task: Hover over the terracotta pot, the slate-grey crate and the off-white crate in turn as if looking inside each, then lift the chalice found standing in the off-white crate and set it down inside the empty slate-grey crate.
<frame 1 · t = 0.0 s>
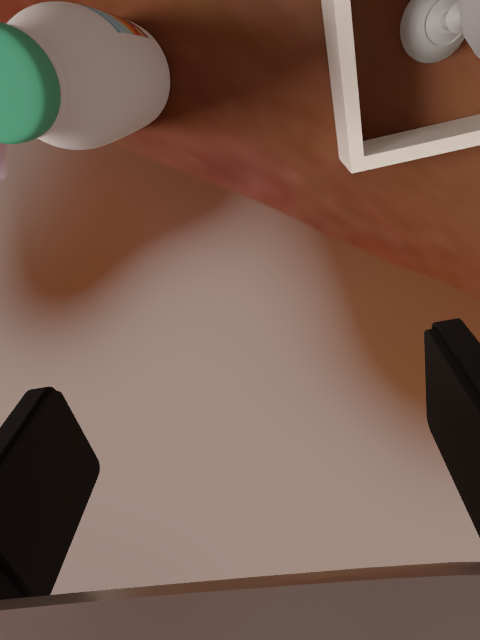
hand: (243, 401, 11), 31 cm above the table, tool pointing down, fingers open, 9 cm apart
white crate: (435, 24, 33), on the table
milk bottle: (125, 77, 35), on the table
chalice: (434, 24, 33), resting in white crate
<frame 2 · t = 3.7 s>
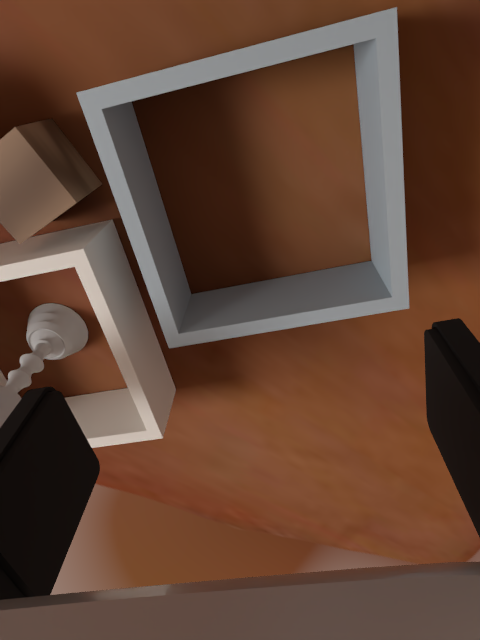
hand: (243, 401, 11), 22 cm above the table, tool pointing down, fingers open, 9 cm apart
white crate: (58, 329, 37), on the table
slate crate: (260, 187, 30), on the table
walnut block: (52, 172, 31), on the table
chalice: (59, 328, 37), resting in white crate
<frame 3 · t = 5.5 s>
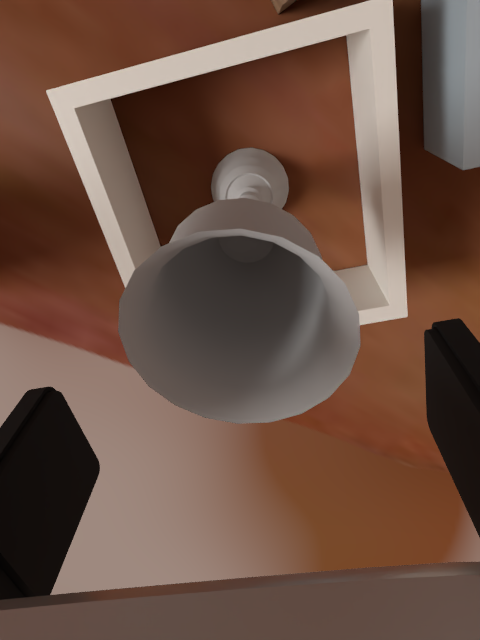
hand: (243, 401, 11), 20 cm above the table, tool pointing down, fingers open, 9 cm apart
white crate: (249, 188, 29), on the table
chalice: (249, 187, 29), resting in white crate
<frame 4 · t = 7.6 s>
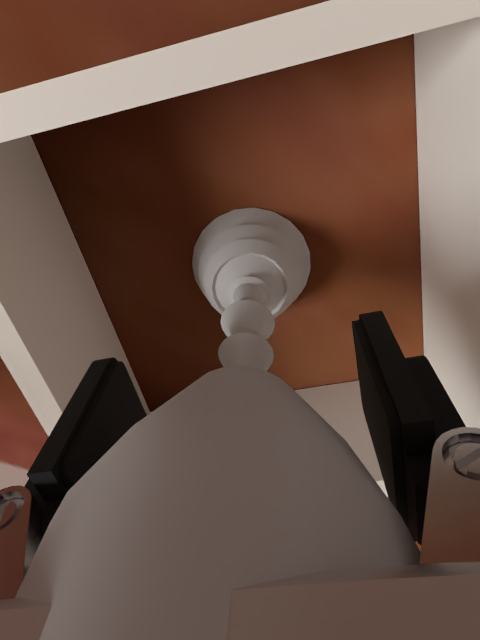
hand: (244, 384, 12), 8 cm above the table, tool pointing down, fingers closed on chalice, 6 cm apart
white crate: (251, 266, 19), on the table
chalice: (251, 264, 19), resting in white crate, touching gripper
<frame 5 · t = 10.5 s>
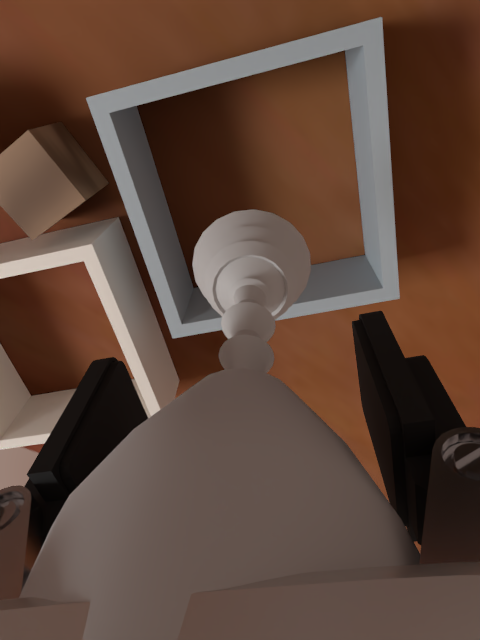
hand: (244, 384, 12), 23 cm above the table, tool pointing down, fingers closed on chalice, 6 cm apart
white crate: (66, 323, 39), on the table
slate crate: (258, 185, 32), on the table
walnut block: (61, 172, 32), on the table
chalice: (251, 265, 19), point 15 cm above the table, touching gripper
when the fingers open (9 cm above the table, at t = 13.9 s): chalice drops 1 cm, resting in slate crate.
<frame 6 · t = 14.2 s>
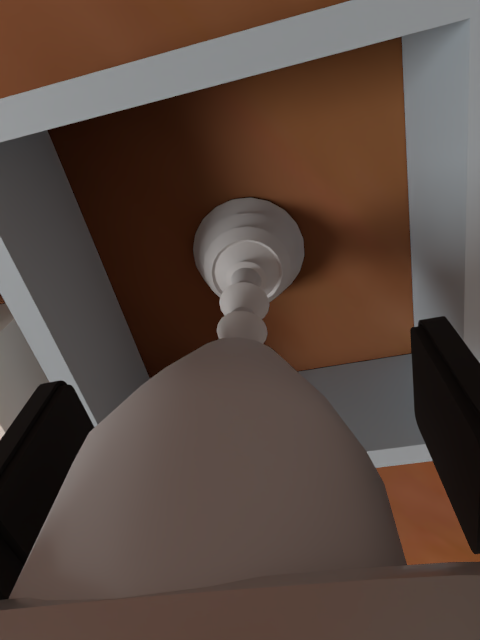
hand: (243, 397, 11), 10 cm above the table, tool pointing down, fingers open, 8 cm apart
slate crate: (251, 253, 20), on the table
chalice: (248, 251, 20), resting in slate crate
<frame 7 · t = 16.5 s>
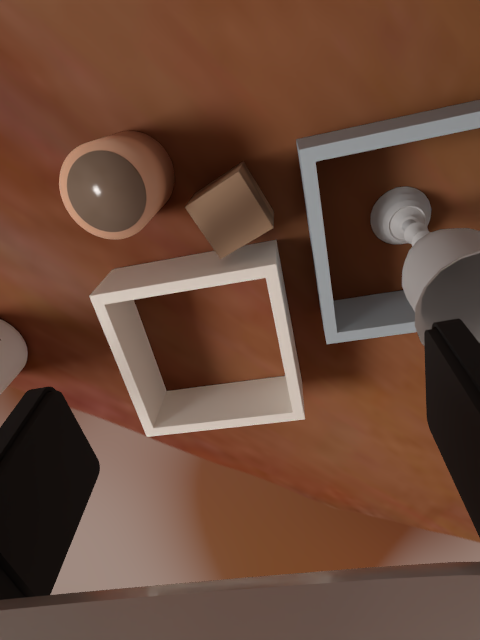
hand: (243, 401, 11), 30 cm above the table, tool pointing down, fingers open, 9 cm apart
white crate: (212, 328, 45), on the table
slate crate: (402, 217, 38), on the table
walnut block: (234, 202, 38), on the table
terracotta pot: (134, 174, 38), on the table
chalice: (399, 215, 38), resting in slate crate
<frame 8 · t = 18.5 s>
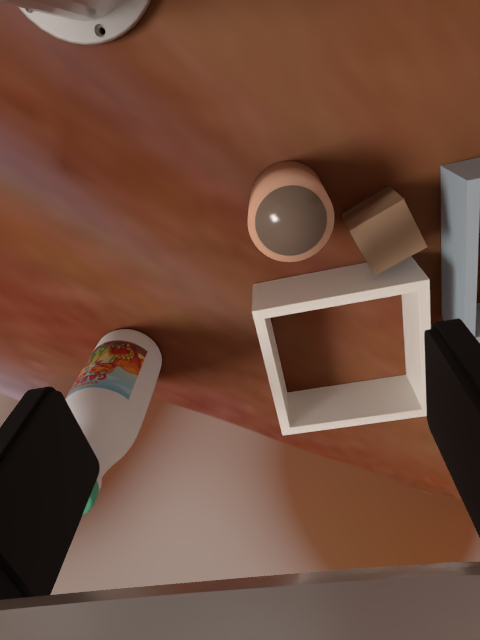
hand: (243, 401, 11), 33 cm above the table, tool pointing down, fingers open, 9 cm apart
white crate: (338, 334, 49), on the table
milk bottle: (131, 353, 52), on the table
walnut block: (375, 221, 42), on the table
terracotta pot: (286, 199, 42), on the table
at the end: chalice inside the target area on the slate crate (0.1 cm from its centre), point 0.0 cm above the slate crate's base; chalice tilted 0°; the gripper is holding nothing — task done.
